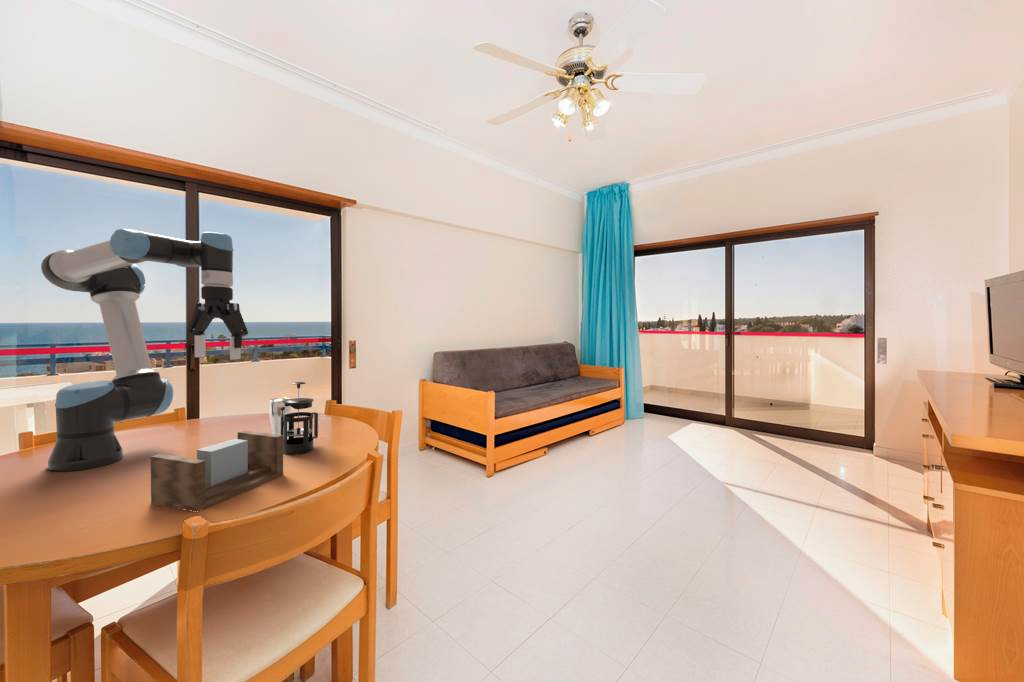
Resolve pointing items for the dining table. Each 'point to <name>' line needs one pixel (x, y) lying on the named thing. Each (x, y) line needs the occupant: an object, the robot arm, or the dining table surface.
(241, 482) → the track base
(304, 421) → the french press
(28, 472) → the dining table surface
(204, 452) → the plain grey rectangular block
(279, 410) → the white silver canister
